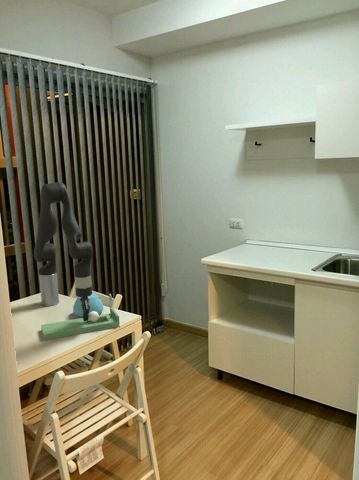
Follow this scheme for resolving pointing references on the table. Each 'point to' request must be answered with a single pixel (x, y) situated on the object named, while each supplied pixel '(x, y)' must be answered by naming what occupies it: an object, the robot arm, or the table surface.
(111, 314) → the flag pin
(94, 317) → the ball
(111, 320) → the mini golf green
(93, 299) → the sugar bowl
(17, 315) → the table surface
